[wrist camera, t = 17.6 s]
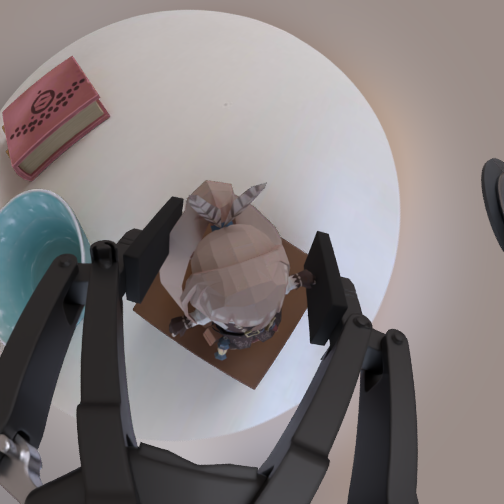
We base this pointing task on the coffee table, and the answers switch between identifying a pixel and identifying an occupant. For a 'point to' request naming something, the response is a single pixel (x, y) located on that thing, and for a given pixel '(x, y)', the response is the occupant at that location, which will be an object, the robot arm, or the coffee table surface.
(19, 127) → the book
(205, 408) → the coffee table surface
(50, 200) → the bowl
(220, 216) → the toy
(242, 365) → the walnut block
